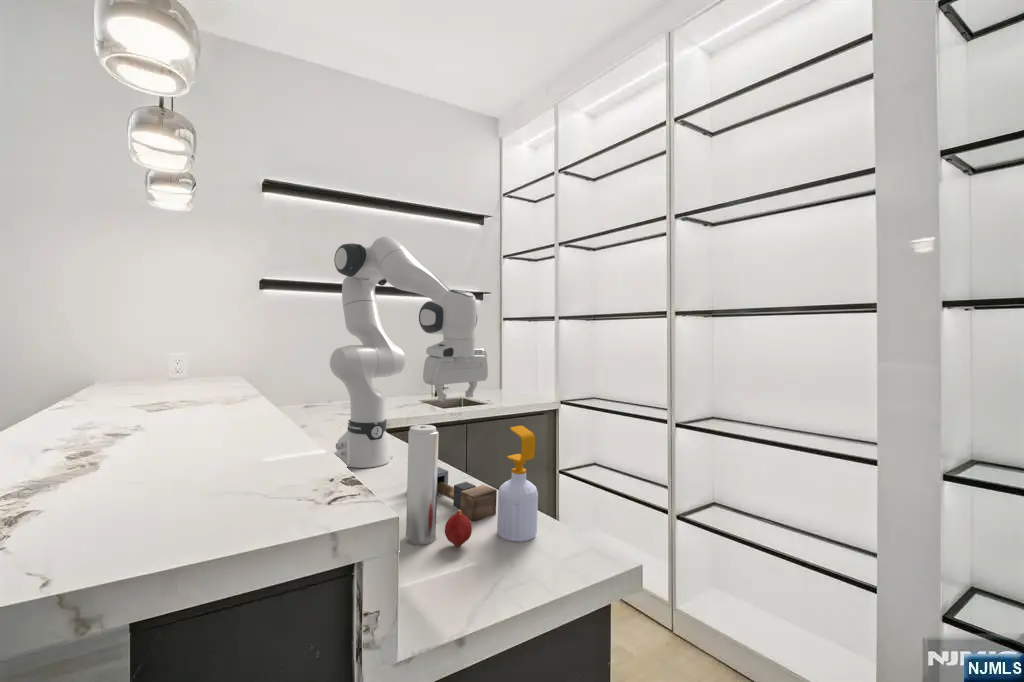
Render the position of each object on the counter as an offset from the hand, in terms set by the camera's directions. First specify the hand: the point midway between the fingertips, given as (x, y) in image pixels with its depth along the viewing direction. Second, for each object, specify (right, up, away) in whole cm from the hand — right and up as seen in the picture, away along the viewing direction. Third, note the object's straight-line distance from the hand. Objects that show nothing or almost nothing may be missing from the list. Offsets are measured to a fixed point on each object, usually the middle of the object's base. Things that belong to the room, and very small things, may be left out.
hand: (455, 398), depth 133 cm
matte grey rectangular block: (-7, -26, +1) cm, 27 cm away
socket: (+7, -27, -13) cm, 31 cm away
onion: (+4, -28, -30) cm, 41 cm away
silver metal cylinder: (-5, -28, -27) cm, 39 cm away
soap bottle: (+17, -28, -23) cm, 40 cm away
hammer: (+2, -26, -8) cm, 28 cm away
